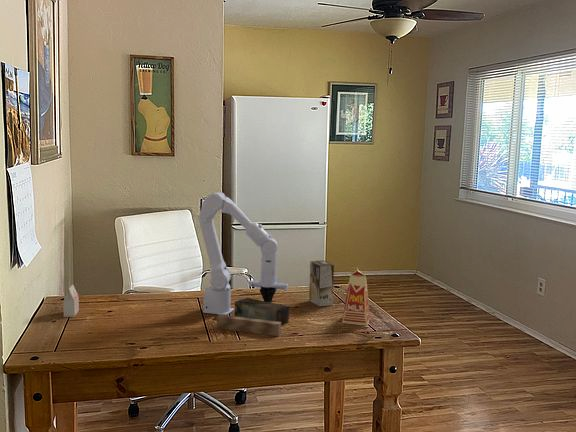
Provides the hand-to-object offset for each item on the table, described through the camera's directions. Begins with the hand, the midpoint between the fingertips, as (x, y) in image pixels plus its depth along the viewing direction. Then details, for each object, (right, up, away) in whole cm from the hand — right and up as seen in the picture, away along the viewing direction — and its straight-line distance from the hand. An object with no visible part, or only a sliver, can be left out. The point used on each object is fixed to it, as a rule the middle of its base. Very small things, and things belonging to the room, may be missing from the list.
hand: (267, 307), depth 215 cm
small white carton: (-70, -2, -6) cm, 70 cm away
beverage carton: (-2, -4, -7) cm, 8 cm away
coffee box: (+20, -1, +16) cm, 26 cm away
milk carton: (+32, -4, -5) cm, 32 cm away
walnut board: (-6, -5, -19) cm, 21 cm away
